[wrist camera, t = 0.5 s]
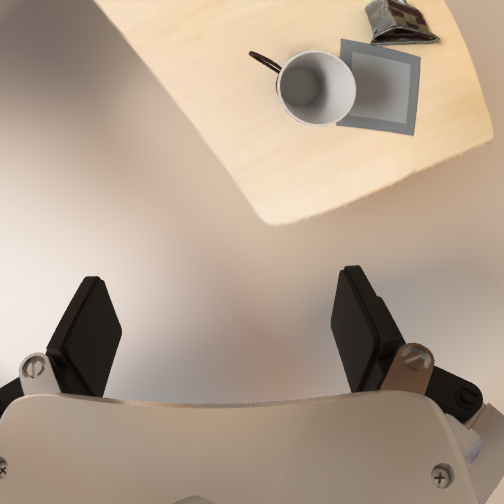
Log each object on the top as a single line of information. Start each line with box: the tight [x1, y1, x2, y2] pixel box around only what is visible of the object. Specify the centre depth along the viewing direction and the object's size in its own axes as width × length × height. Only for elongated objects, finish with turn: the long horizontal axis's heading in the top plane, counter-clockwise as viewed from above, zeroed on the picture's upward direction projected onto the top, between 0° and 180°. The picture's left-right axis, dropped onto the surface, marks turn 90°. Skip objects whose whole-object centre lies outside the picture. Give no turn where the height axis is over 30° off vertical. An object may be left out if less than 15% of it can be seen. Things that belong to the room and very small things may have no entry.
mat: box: [336, 39, 420, 136], centre depth 37 cm, size 13×13×1 cm
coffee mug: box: [249, 50, 356, 127], centre depth 32 cm, size 12×9×10 cm
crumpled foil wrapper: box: [365, 0, 440, 46], centre depth 29 cm, size 10×7×12 cm
